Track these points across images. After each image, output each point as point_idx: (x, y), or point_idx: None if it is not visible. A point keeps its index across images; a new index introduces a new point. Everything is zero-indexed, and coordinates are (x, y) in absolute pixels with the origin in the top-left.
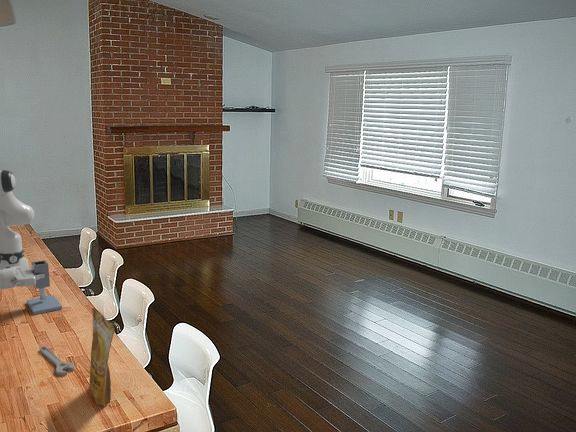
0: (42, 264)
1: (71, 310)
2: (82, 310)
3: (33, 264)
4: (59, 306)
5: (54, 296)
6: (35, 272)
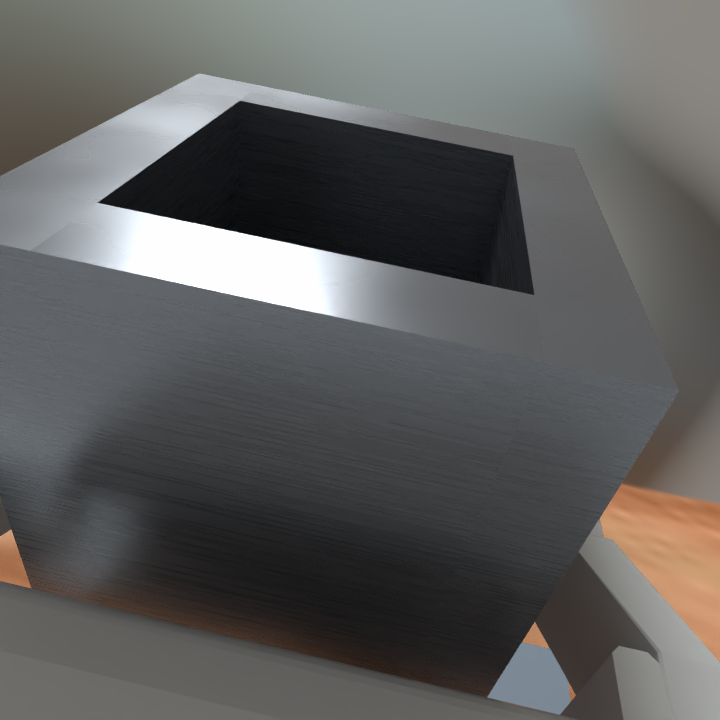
0: (590, 205)
1: None
2: (664, 552)
3: (397, 315)
4: (566, 680)
5: None
6: (538, 587)
